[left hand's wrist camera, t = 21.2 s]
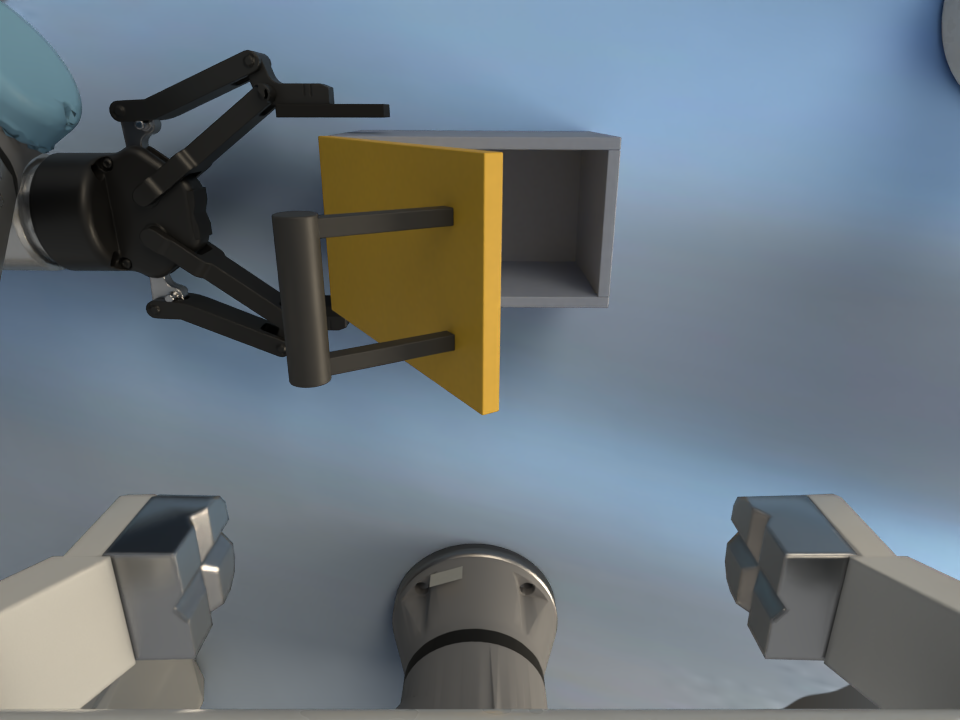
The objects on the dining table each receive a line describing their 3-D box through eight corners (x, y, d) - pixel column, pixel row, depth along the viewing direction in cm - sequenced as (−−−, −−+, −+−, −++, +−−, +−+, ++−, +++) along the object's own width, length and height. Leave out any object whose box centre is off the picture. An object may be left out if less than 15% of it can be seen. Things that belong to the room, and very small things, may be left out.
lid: (503, 152, 23) (288, 159, 19) (499, 411, 26) (317, 459, 23) (331, 135, 37) (186, 138, 33) (344, 307, 40) (214, 327, 36)
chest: (591, 131, 47) (621, 137, 37) (582, 268, 51) (608, 308, 40) (360, 130, 47) (326, 135, 37) (367, 267, 51) (339, 306, 40)
